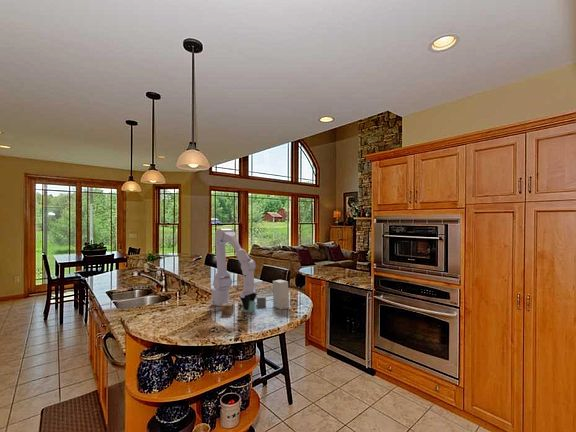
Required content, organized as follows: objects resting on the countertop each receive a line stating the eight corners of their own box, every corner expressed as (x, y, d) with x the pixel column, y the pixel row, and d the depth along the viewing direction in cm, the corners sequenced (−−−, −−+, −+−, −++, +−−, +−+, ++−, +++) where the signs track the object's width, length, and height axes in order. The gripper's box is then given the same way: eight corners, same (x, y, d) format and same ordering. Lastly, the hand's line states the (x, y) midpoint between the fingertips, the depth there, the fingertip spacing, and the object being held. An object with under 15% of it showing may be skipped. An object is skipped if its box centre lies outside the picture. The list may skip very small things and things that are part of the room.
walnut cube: (221, 315, 154) (221, 305, 154) (224, 312, 159) (224, 302, 159) (231, 315, 153) (231, 305, 153) (233, 312, 158) (233, 303, 158)
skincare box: (289, 308, 166) (289, 281, 166) (280, 310, 162) (280, 282, 162) (281, 304, 173) (281, 278, 173) (272, 306, 169) (272, 280, 169)
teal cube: (242, 311, 159) (242, 302, 159) (246, 309, 164) (246, 300, 164) (250, 312, 158) (250, 303, 158) (254, 310, 162) (254, 300, 162)
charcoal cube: (256, 306, 169) (256, 297, 169) (257, 304, 174) (257, 295, 174) (265, 306, 169) (265, 297, 169) (265, 304, 174) (265, 295, 174)
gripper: (249, 286, 153) (248, 312, 153) (261, 280, 167) (261, 305, 166) (236, 285, 155) (236, 311, 155) (249, 279, 169) (249, 304, 169)
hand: (248, 308), depth 161 cm, fingers closed on teal cube, 5 cm apart
